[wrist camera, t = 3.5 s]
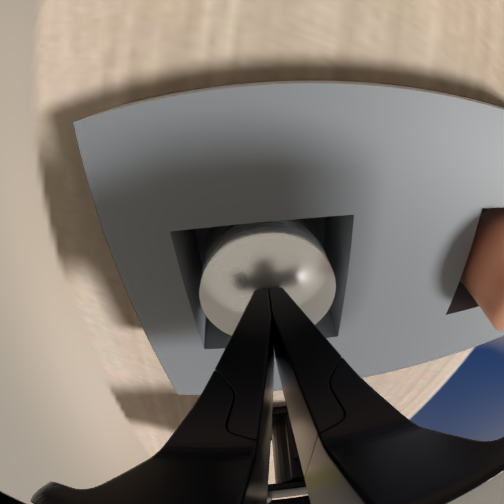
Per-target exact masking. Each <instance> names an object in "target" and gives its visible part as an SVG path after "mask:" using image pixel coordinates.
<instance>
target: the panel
mask: <svg viewBox="0 0 504 504" xmlns="http://www.w3.org/2000/svg"><path fill="white" fill-rule="evenodd" d="M73 124H74V129H75V133H76V138H77V142H78V146H79V150H80V155H81V159H82V162H83V166H84V170H85V174H86V177H87V181H88V184H89V188H90V191H91V195H92V198H93V201H94V205H95V208H96V211H97V214H98V217H99V220H100V223H101V226H102V229H103V232H104V235H105V238H106V240H107V243H108V246H109V249H110V251H111V254H112V257H113V259H114V262H115V264H116V267H117V270H118V272H119V275H120V277H121V279H122V282H123V284H124V287H125V289H126V291H127V294H128V296H129V298H130V301H131V303H132V305H133V308H134V310H135V312H136V314H137V316H138V319H139V321H140V323H141V325H142V327H143V329H144V331H145V333H146V335H147V338H148V340H149V342H150V344H151V346H152V348H153V350H154V352H155V354H156V355H157V357H158V359H159V361H160V363H161V365H162V367H163V369H164V371H165V373H166V374H167V376H168V378H169V380H170V382H171V383H172V385H173V387H174V389H175V391H176V392H177V394H178V395H201V393H202V392H203V390H204V388H205V386H206V385H207V383H208V381H209V379H210V377H211V375H212V373H213V371H215V368H216V366H217V364H218V362H219V360H220V358H221V356H222V354H223V352H224V350H225V348H226V346H227V344H228V342H229V340H230V338H231V335H229V334H227V333H225V332H223V331H221V330H220V329H219V328H217V327H216V326H215V325H214V324H213V323H212V322H211V321H210V320H209V319H208V318H207V316H206V315H205V313H204V311H203V309H202V306H201V303H200V298H199V289H200V283H201V276H202V270H203V263H204V257H205V251H206V245H207V239H208V234H209V230H210V227H218V226H227V225H238V224H248V223H258V222H269V221H281V220H292V219H304V218H310V220H311V221H312V223H313V226H314V228H315V230H316V232H317V235H318V237H319V239H320V242H321V244H322V246H323V249H324V251H325V253H326V256H327V258H328V260H329V263H330V265H331V267H332V270H333V273H334V276H335V281H336V292H335V297H334V300H333V302H332V305H331V306H330V308H329V310H328V311H327V313H326V314H325V315H324V317H323V318H322V319H321V320H320V321H319V322H317V323H316V324H315V326H316V327H317V328H318V329H319V330H320V332H321V333H322V334H323V335H324V336H325V337H326V339H327V340H328V341H329V342H330V343H331V344H332V346H333V347H334V348H335V349H336V350H337V351H338V352H339V354H340V355H341V356H342V357H341V358H344V359H345V360H346V362H347V363H348V364H349V365H350V366H351V367H352V368H353V369H354V371H355V372H356V373H357V374H358V375H359V376H360V377H361V378H363V377H368V376H373V375H378V374H382V373H387V372H391V371H395V370H399V369H403V368H407V367H411V366H415V365H418V364H422V363H425V362H429V361H432V360H436V359H439V358H442V357H445V356H449V355H452V354H455V353H458V352H461V351H464V350H467V349H469V348H472V347H475V346H478V345H480V344H483V343H486V342H488V341H491V340H494V339H496V338H498V337H501V336H503V335H504V330H502V331H499V330H496V329H495V328H494V327H493V325H492V324H491V322H490V321H489V319H488V318H487V317H486V315H485V314H484V312H483V311H482V309H481V308H480V307H479V305H478V304H477V302H476V301H475V300H474V298H473V297H472V296H471V294H470V293H469V292H468V290H467V289H466V288H465V286H464V285H463V284H462V282H461V281H460V278H461V276H462V273H463V270H464V267H465V264H466V261H467V258H468V255H469V252H470V249H471V246H472V243H473V239H474V236H475V233H476V229H477V225H478V222H479V218H480V216H481V215H482V214H484V213H485V212H486V211H488V210H489V209H491V208H504V107H500V106H497V105H493V104H490V103H486V102H483V101H479V100H475V99H471V98H467V97H462V96H458V95H453V94H448V93H443V92H438V91H432V90H427V89H420V88H414V87H407V86H399V85H390V84H381V83H369V82H355V81H330V80H294V81H270V82H255V83H243V84H233V85H224V86H216V87H208V88H201V89H195V90H189V91H183V92H177V93H172V94H167V95H162V96H157V97H152V98H148V99H143V100H139V101H135V102H131V103H127V104H123V105H120V106H117V107H114V108H111V109H108V110H105V111H102V112H99V113H96V114H94V115H91V116H88V117H85V118H83V119H80V120H78V121H75V122H73ZM277 390H283V389H282V384H281V380H280V376H279V372H278V368H277V364H276V359H275V353H274V384H273V391H277Z"/></svg>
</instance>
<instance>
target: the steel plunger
mask: <svg viewBox="0 0 504 504" xmlns="http://www.w3.org/2000/svg"><path fill="white" fill-rule="evenodd" d="M279 287H282V288H283V289H284V290H285V291H286V292H287V293H288V295H289V296H290V297H291V298H292V299H293V300H294V302H295V303H296V304H297V305H298V306H299V307H300V308H301V310H302V311H303V312H304V313H305V314H306V315H307V317H308V318H309V319H310V320H311V321H312V322H313V324H314V325H315V324H316V323H317V322H319V321H320V320H321V319H322V318H323V317H324V315H325V314H326V313H327V311H328V310H329V308H330V306H331V305H332V302H333V300H334V297H335V292H336V281H335V276H334V273H333V270H332V267H331V265H330V263H329V260H328V258H327V256H326V253H325V251H324V249H323V246H322V244H321V242H320V239H319V237H318V235H317V232H316V230H315V228H314V226H313V223H312V221H311V220H310V218H304V219H292V220H281V221H269V222H258V223H248V224H238V225H227V226H218V227H210V230H209V234H208V239H207V245H206V251H205V257H204V263H203V270H202V276H201V283H200V289H199V298H200V303H201V306H202V309H203V311H204V313H205V315H206V316H207V318H208V319H209V320H210V321H211V322H212V323H213V324H214V325H215V326H216V327H217V328H219V329H220V330H221V331H223V332H225V333H227V334H229V335H231V336H232V334H233V332H234V330H235V328H236V326H237V324H238V322H239V320H240V318H241V316H242V314H243V312H244V310H245V308H246V306H247V304H248V302H249V300H250V298H251V296H252V294H253V292H254V291H255V290H258V289H268V291H269V289H270V288H279Z"/></svg>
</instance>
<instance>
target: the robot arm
mask: <svg viewBox="0 0 504 504" xmlns="http://www.w3.org/2000/svg"><path fill="white" fill-rule="evenodd" d="M274 353H275V359H276V364H277V368H278V372H279V376H280V380H281V384H282V389H283V393H284V397H285V401H286V405H287V408H281V409H272V406H273V384H274ZM341 357H342V356H341V355H340V354H339V352H338V351H337V350H336V349H335V348H334V347H333V346H332V344H331V343H330V342H329V341H328V340H327V339H326V337H325V336H324V335H323V334H322V333H321V332H320V330H319V329H318V328H317V327H316V326H315V325H314V324H313V322H312V321H311V320H310V319H309V318H308V317H307V315H306V314H305V313H304V312H303V311H302V310H301V308H300V307H299V306H298V305H297V304H296V303H295V302H294V300H293V299H292V298H291V297H290V296H289V295H288V293H287V292H286V291H285V290H284V289H283V288H282V287H279V288H270V289H269V291H268V289H258V290H255V291H254V292H253V294H252V296H251V298H250V300H249V302H248V304H247V306H246V308H245V310H244V312H243V314H242V316H241V318H240V320H239V322H238V324H237V326H236V328H235V330H234V332H233V334H232V336H231V338H230V340H229V342H228V344H227V346H226V348H225V350H224V352H223V354H222V356H221V358H220V360H219V362H218V364H217V366H216V368H215V371H213V373H212V375H211V377H210V379H209V381H208V383H207V385H206V386H205V388H204V390H203V392H202V393H201V395H200V397H199V398H198V400H197V401H196V403H195V404H194V406H193V407H192V409H191V410H190V411H189V413H188V414H187V415H186V417H185V418H184V420H183V421H182V422H181V424H180V425H179V426H178V428H177V429H176V430H175V432H174V433H173V435H172V436H171V437H170V439H169V440H168V441H167V442H166V444H165V445H164V446H163V447H162V448H161V449H160V450H159V451H158V452H157V453H156V454H155V455H154V456H152V457H151V458H150V459H148V460H146V461H145V462H143V463H141V464H139V465H137V466H136V467H134V468H132V469H130V470H128V471H127V472H125V473H123V474H121V475H119V476H117V477H115V478H113V479H112V480H110V481H108V482H106V483H104V484H102V485H99V486H97V487H94V488H90V489H75V488H71V487H68V486H65V485H62V484H59V483H56V482H50V483H48V484H46V485H45V486H43V487H42V488H40V489H39V490H38V491H37V492H36V493H35V494H34V495H33V497H32V499H31V502H32V503H34V504H504V437H503V438H500V439H498V440H495V441H485V442H484V441H476V440H472V439H467V438H462V437H458V436H454V435H450V434H446V433H442V432H438V431H435V430H431V429H427V428H424V427H421V426H419V425H417V424H415V423H413V422H411V421H410V420H409V419H407V418H406V417H405V416H403V415H402V414H401V413H400V412H399V411H398V410H397V409H395V408H394V407H393V406H392V405H391V404H390V403H388V402H387V401H386V400H385V399H384V398H383V397H382V396H380V395H379V394H378V393H377V392H376V391H375V390H374V389H373V388H372V387H370V386H369V385H368V384H367V383H366V382H365V381H364V380H363V379H362V378H361V377H360V376H359V375H358V374H357V373H356V372H355V371H354V369H353V368H352V367H351V366H350V365H349V364H348V363H347V362H346V360H345V359H344V358H341ZM271 440H272V444H273V456H274V468H275V481H276V484H268V475H269V460H270V443H271ZM303 494H308V495H309V496H303V497H296V498H288V499H279V500H272V498H280V497H289V496H296V495H303ZM0 504H26V503H24V502H22V501H19V500H18V499H16V498H14V497H12V496H10V495H8V494H6V493H4V492H2V491H0Z"/></svg>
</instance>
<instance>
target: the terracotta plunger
mask: <svg viewBox="0 0 504 504" xmlns="http://www.w3.org/2000/svg"><path fill="white" fill-rule="evenodd" d="M460 281H461V282H462V284H463V285H464V286H465V288H466V289H467V290H468V292H469V293H470V294H471V296H472V297H473V298H474V300H475V301H476V302H477V304H478V305H479V307H480V308H481V309H482V311H483V312H484V314H485V315H486V317H487V318H488V319H489V321H490V322H491V324H492V325H493V327H494V328H495V329H496V330H499V331H502V330H504V208H491V209H489V210H488V211H486V212H485V213H484V214H482V215H481V216H480V218H479V222H478V225H477V229H476V233H475V236H474V239H473V243H472V246H471V249H470V252H469V255H468V258H467V261H466V264H465V267H464V270H463V273H462V276H461V278H460Z"/></svg>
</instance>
